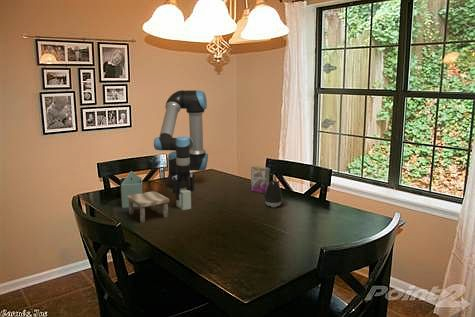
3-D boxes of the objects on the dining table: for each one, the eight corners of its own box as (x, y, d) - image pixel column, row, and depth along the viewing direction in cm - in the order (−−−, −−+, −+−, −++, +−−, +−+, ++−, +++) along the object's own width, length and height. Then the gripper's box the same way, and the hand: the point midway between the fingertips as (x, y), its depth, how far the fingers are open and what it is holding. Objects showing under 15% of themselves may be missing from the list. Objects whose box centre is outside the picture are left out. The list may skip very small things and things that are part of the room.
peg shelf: (155, 208, 228) (154, 191, 226) (169, 217, 214) (169, 199, 212) (127, 213, 219) (126, 195, 217) (141, 223, 205) (140, 204, 203)
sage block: (184, 204, 235) (183, 188, 233) (191, 208, 229) (190, 191, 227) (176, 206, 232) (176, 189, 230) (183, 210, 226) (183, 192, 224)
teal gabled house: (132, 210, 225) (130, 175, 221) (121, 207, 229) (120, 173, 225) (152, 202, 239) (151, 169, 235) (142, 200, 243) (140, 168, 239)
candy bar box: (250, 191, 264) (250, 166, 261) (254, 189, 268) (254, 165, 265) (265, 194, 258) (266, 169, 255) (269, 192, 262) (269, 167, 259)
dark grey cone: (285, 205, 235) (286, 180, 232) (274, 210, 228) (275, 183, 224) (271, 202, 242) (272, 177, 239) (260, 206, 234) (261, 180, 231)
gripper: (193, 161, 234) (194, 200, 238) (165, 165, 223) (166, 205, 228) (200, 163, 228) (200, 203, 232) (171, 167, 217) (172, 209, 222)
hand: (183, 204), depth 230 cm, fingers closed on sage block, 5 cm apart
